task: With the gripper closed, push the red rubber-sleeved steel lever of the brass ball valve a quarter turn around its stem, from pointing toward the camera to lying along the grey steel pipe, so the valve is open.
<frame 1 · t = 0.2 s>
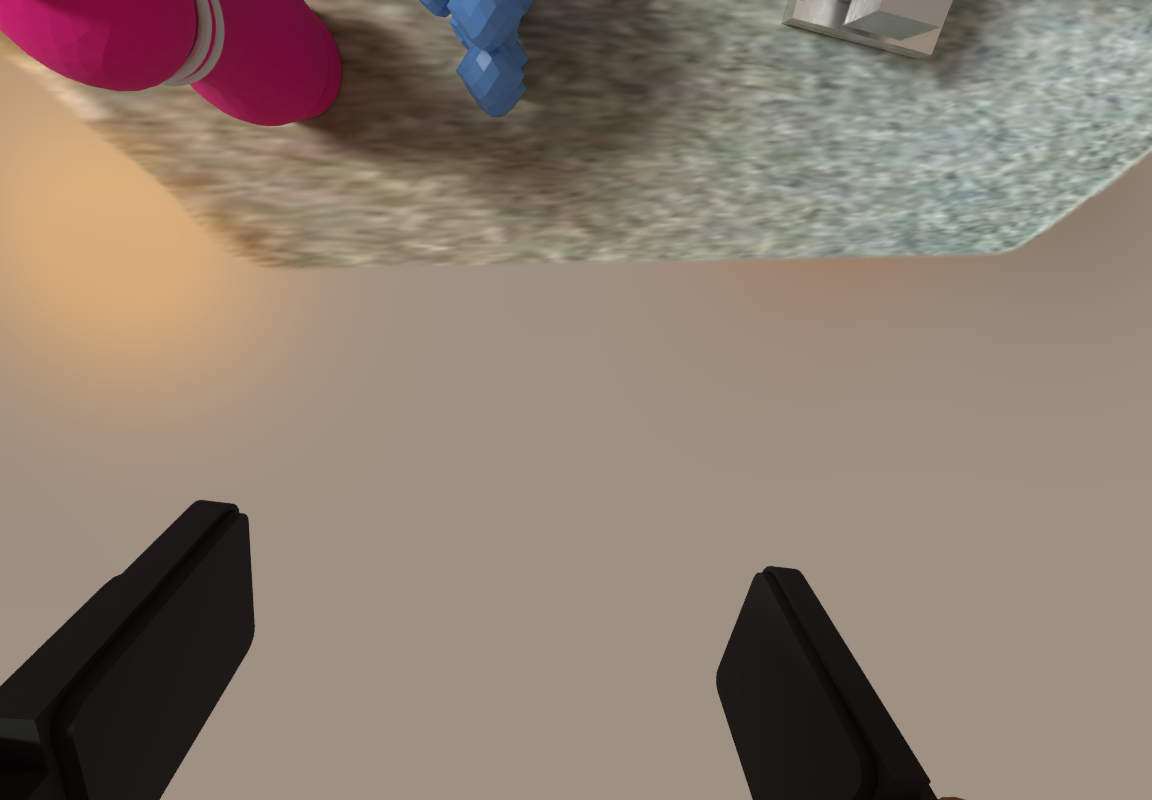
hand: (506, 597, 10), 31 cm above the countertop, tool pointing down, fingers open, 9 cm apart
pepper mill: (290, 62, 33), on the countertop
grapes: (485, 10, 33), on the countertop
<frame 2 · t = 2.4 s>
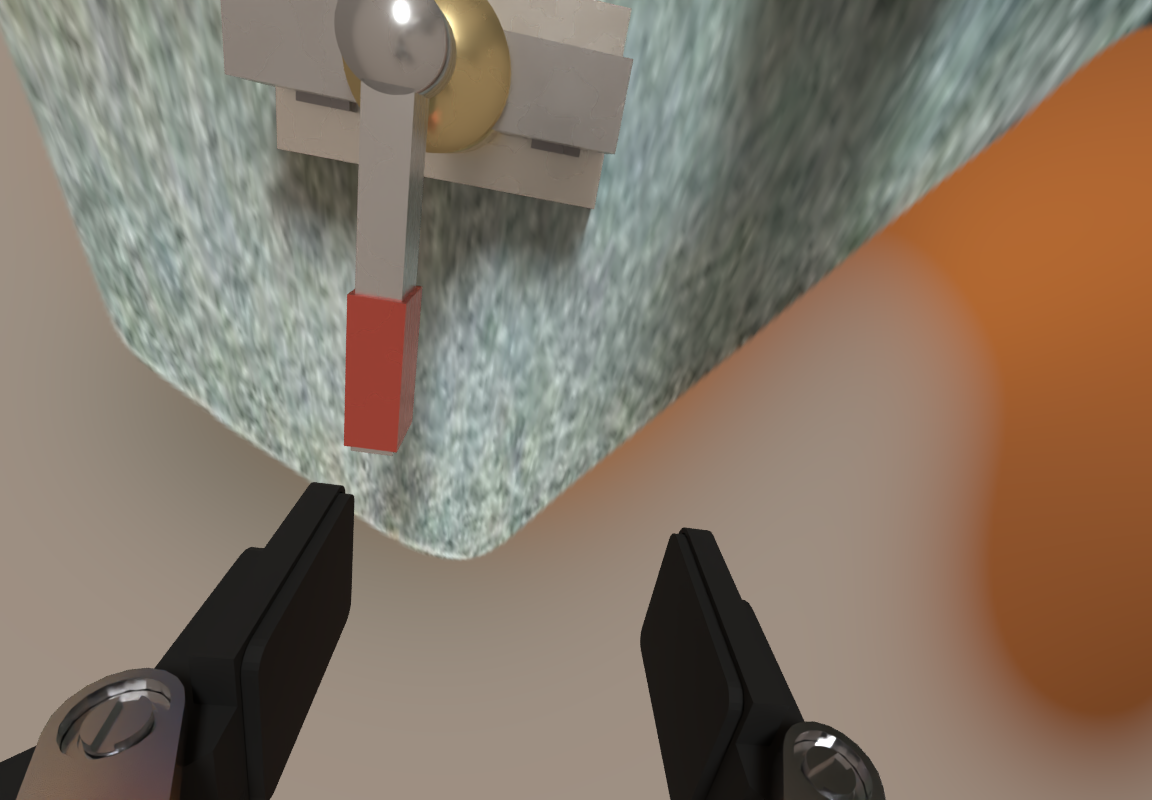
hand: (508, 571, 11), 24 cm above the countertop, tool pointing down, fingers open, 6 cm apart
valve lever: (389, 245, 20), point 12 cm above the countertop, hinge at 0.0°
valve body: (453, 84, 28), on the countertop
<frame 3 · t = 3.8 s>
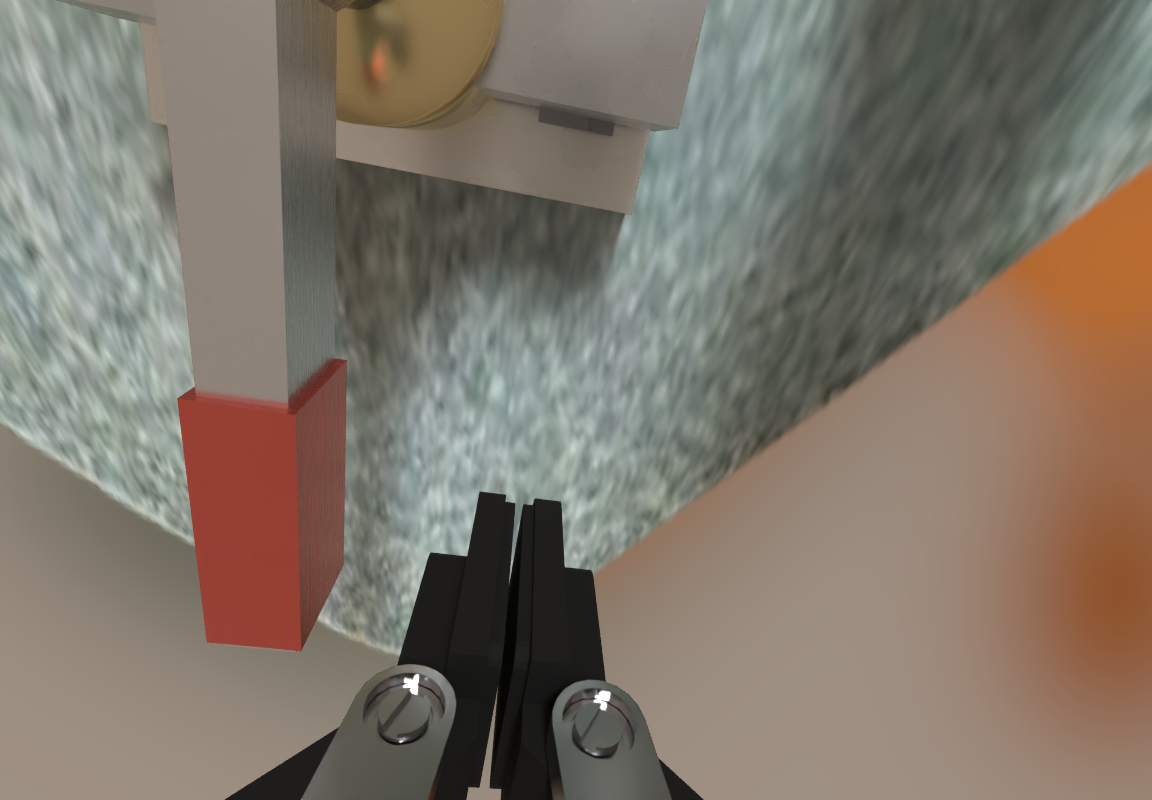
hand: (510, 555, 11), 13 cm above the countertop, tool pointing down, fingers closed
valve lever: (269, 297, 11), point 11 cm above the countertop, hinge at 0.0°
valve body: (421, 24, 18), on the countertop
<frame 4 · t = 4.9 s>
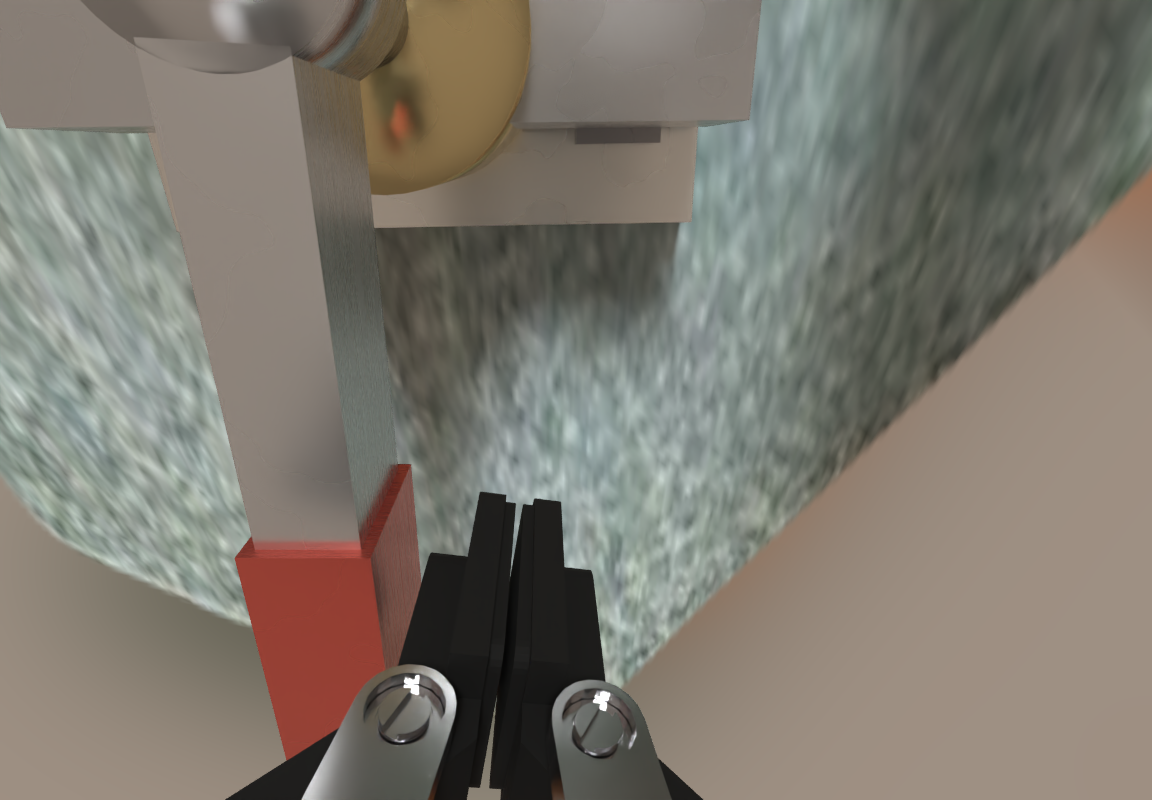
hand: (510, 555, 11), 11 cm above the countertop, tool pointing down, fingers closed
valve lever: (321, 419, 9), point 12 cm above the countertop, hinge at -3.3°, touching gripper
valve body: (430, 67, 17), on the countertop
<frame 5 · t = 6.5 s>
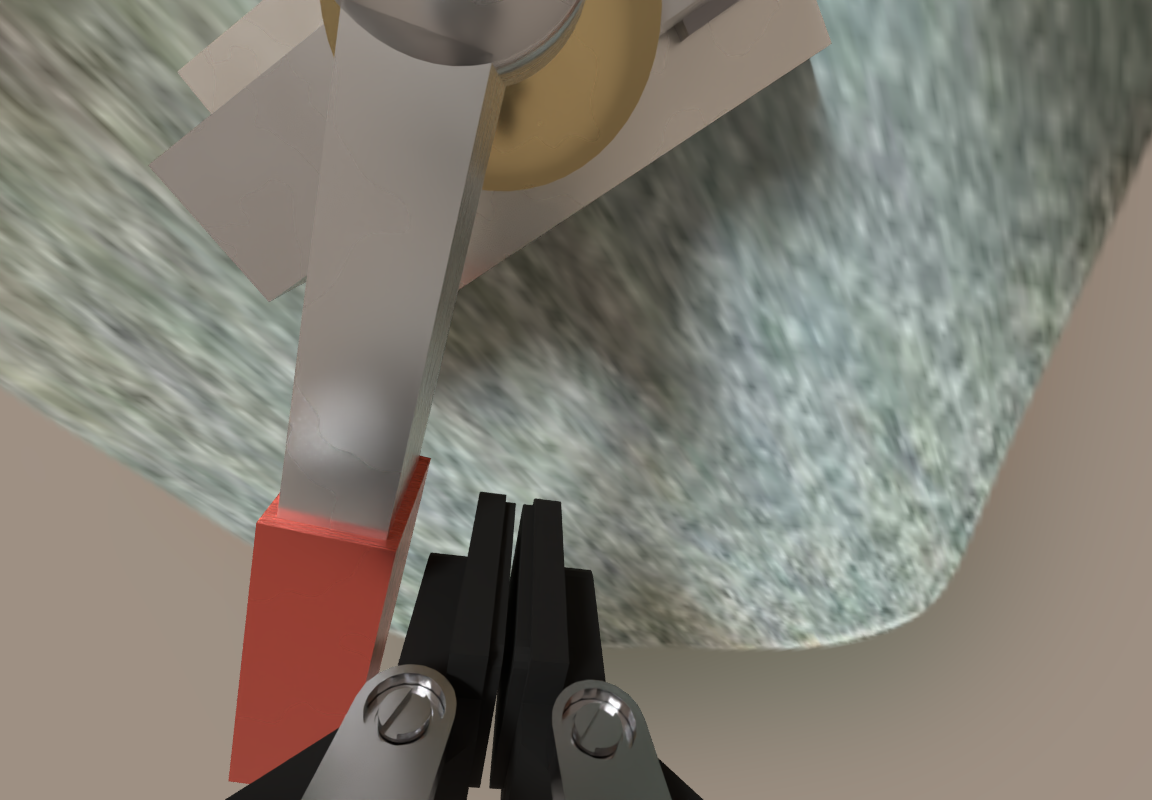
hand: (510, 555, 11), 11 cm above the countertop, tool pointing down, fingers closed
valve lever: (372, 400, 9), point 11 cm above the countertop, hinge at -49.5°, touching gripper
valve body: (512, 65, 17), on the countertop
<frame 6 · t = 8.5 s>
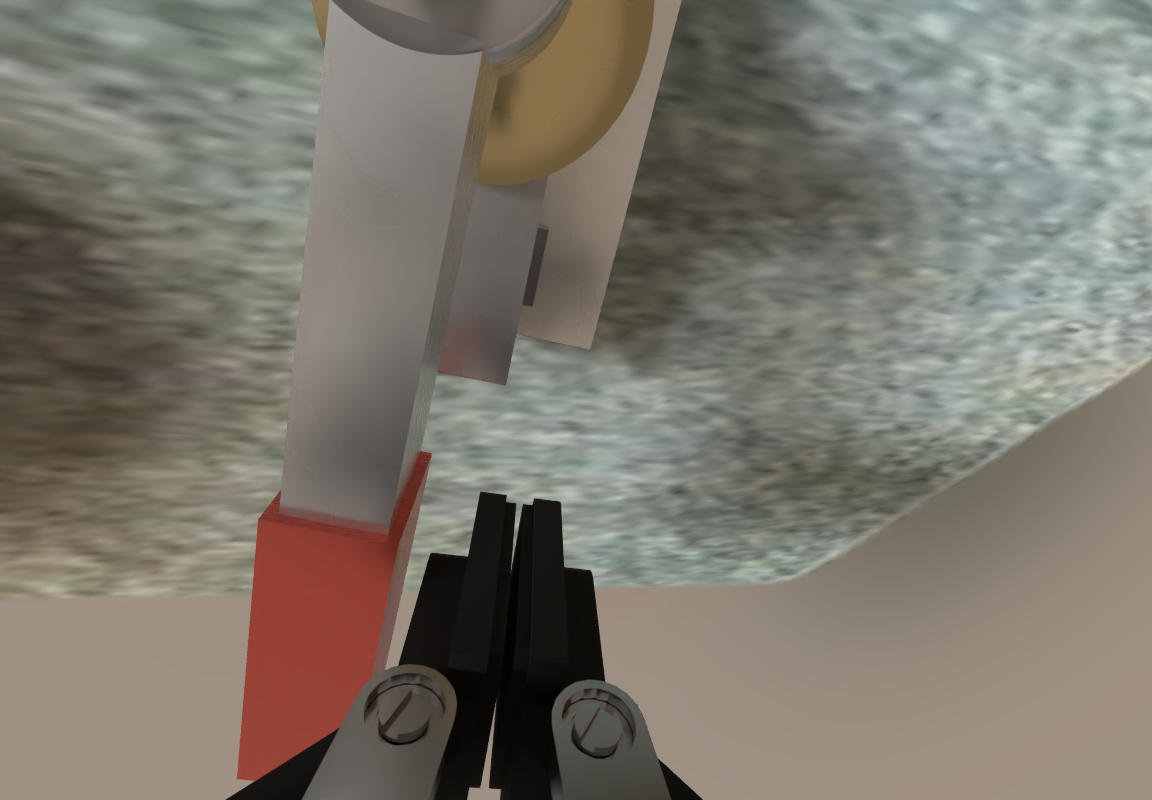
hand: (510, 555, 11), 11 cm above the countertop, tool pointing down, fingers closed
valve lever: (372, 395, 9), point 12 cm above the countertop, hinge at -93.0°, touching gripper
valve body: (507, 60, 17), on the countertop
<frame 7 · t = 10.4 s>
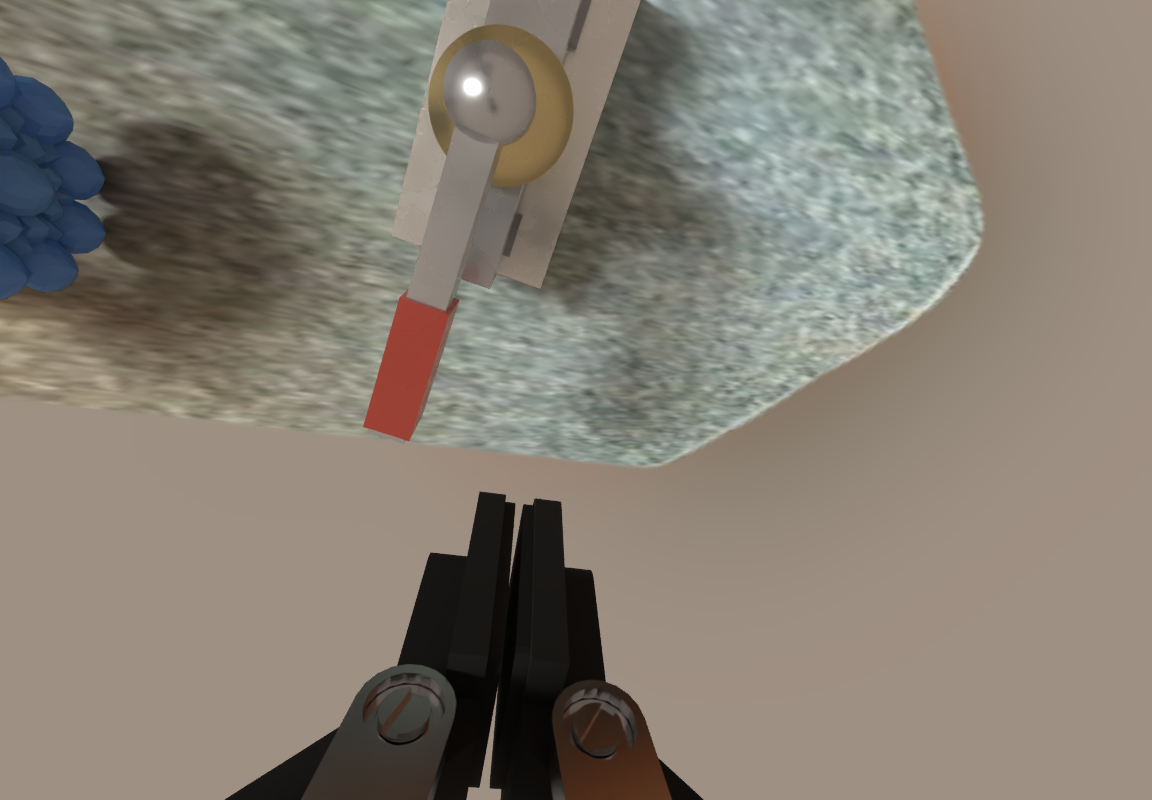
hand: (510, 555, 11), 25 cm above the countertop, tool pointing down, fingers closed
valve lever: (442, 261, 23), point 12 cm above the countertop, hinge at -91.3°
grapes: (77, 172, 31), on the countertop
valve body: (511, 122, 31), on the countertop
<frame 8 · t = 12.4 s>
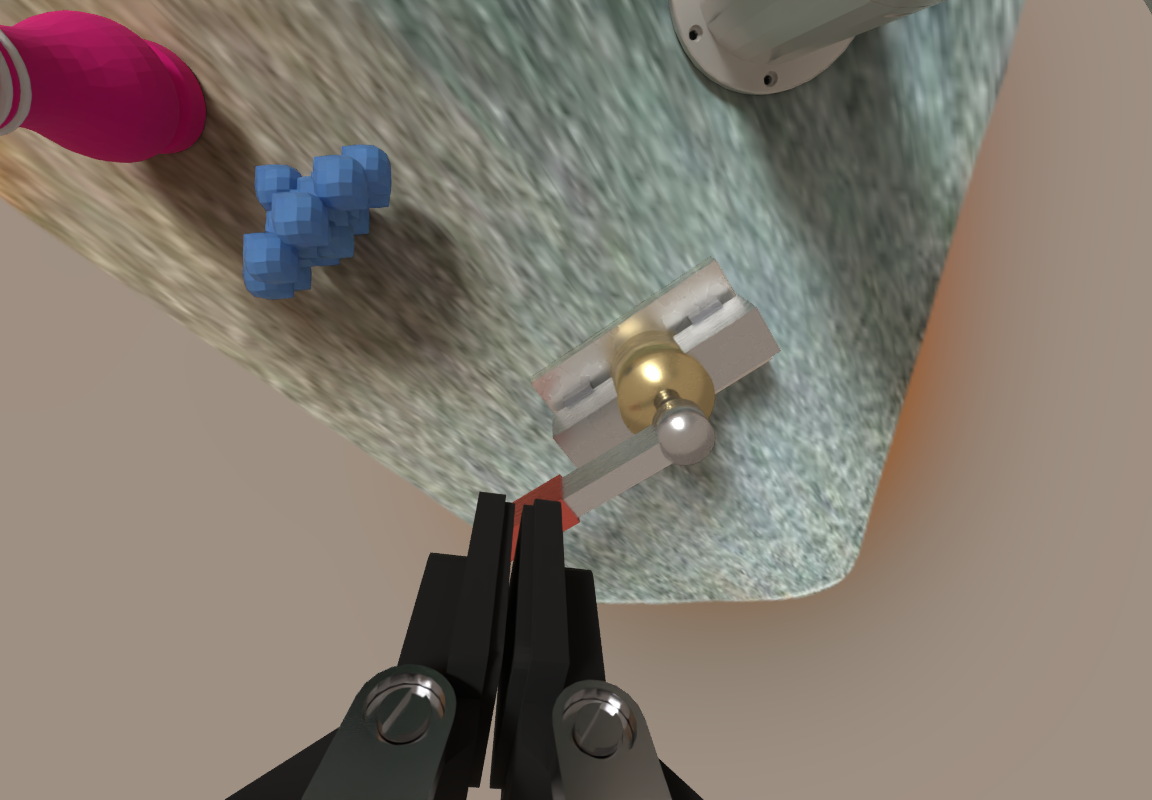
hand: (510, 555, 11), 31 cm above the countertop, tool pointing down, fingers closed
valve lever: (592, 484, 34), point 12 cm above the countertop, hinge at -91.3°
pepper mill: (156, 98, 35), on the countertop
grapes: (342, 204, 38), on the countertop
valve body: (648, 364, 43), on the countertop
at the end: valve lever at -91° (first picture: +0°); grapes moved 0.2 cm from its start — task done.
